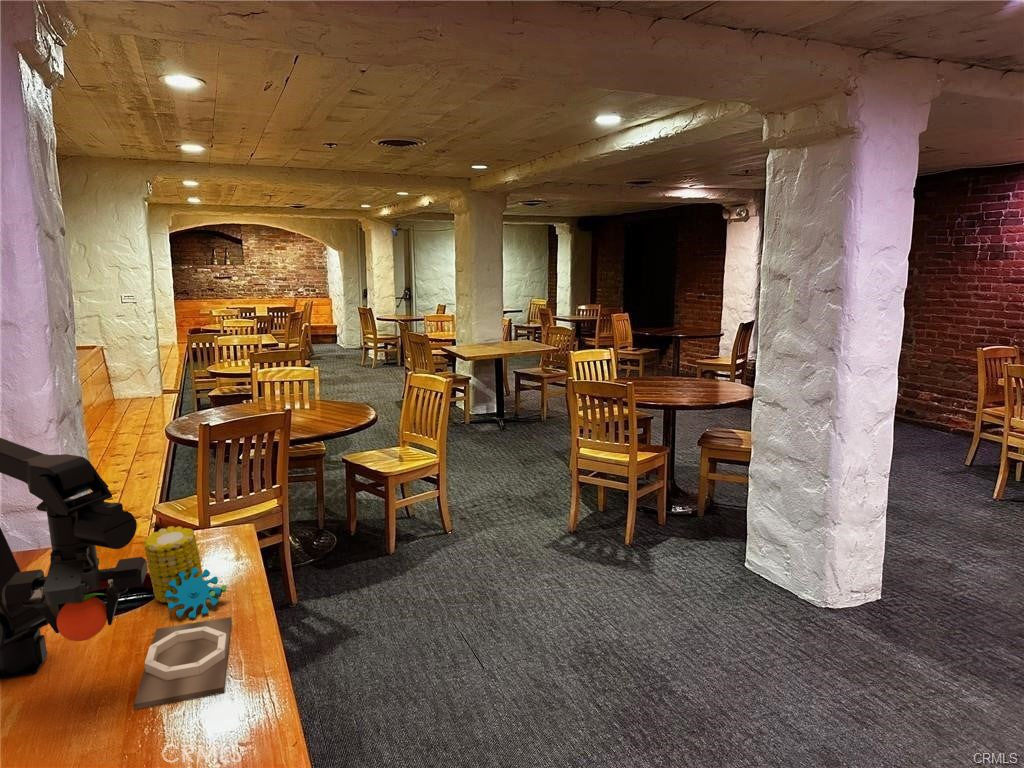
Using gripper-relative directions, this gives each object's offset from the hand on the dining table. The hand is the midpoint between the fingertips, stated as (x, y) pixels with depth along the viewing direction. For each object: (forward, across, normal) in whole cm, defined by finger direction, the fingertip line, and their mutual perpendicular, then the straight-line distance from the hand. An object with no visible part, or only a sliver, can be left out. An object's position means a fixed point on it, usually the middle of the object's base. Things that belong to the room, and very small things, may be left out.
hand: (84, 627), depth 107 cm
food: (+11, +9, +28) cm, 31 cm away
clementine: (+2, 0, 0) cm, 2 cm away
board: (+11, +14, +3) cm, 18 cm away
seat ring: (+11, +14, +3) cm, 18 cm away
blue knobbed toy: (+11, +14, +21) cm, 27 cm away
